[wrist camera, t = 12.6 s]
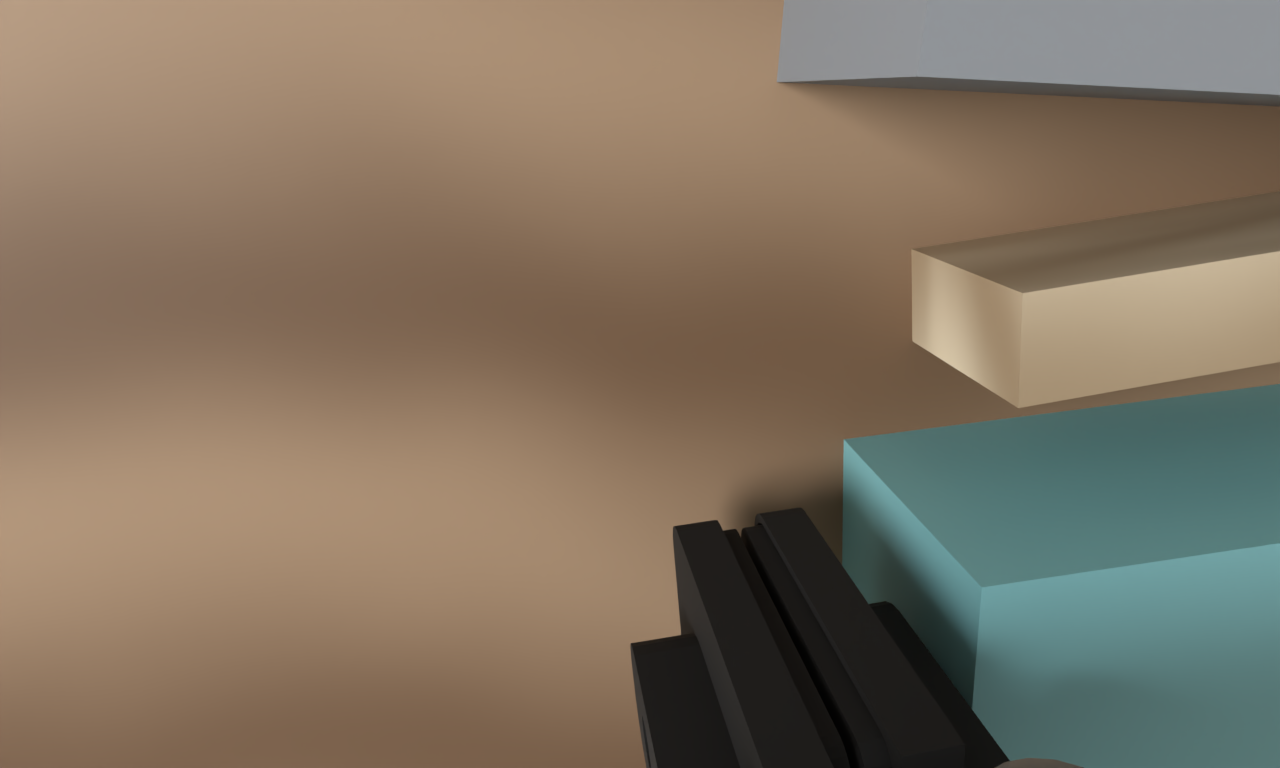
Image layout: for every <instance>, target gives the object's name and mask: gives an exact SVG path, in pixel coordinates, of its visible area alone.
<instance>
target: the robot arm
mask: <svg viewBox="0 0 1280 768" xmlns="http://www.w3.org/2000/svg"><path fill="white" fill-rule="evenodd" d="M673 547H674V558H675V570H676V581H677V593H678V604H679V616H680V627H681V635H678V636H672V637H666V638H660V639H654V640H648V641H642V642H636V643H631V645H630V649H631V661H632V670H633V679H634V688H635V696H636V704H637V712H638V719H639V726H640V732H641V739H642V745H643V751H644V757H645V763H646V768H1084V767H1081V766H1077V765H1073V764H1070V763H1066V762H1062V761H1059V760H1055V759H1040V758H1024V759H1019V760H1013V761H1010V760H1009V759H1008V757H1007V756H1006V755H1005V753H1004V752H1003V751H1002V749H1001V748H1000V747H999V745H998V744H997V742H996V741H995V740H994V738H993V737H992V736H991V734H990V733H989V732H988V730H987V729H986V728H985V726H984V725H983V724H982V722H981V721H980V719H979V718H978V717H977V715H976V714H975V713H974V711H973V710H972V709H971V707H970V706H969V705H968V703H967V702H966V701H965V699H964V698H963V696H962V695H961V694H960V692H959V691H958V690H957V688H956V687H955V686H954V684H953V683H952V682H951V680H950V679H949V677H948V676H947V675H946V673H945V672H944V671H943V669H942V668H941V667H940V665H939V664H938V663H937V661H936V660H935V659H934V657H933V656H932V654H931V653H930V652H929V650H928V649H927V648H926V646H925V645H924V644H923V642H922V641H921V640H920V638H919V637H918V636H917V634H916V633H915V631H914V630H913V629H912V627H911V626H910V625H909V623H908V622H907V621H906V619H905V618H904V617H903V615H902V614H901V613H900V611H899V610H898V609H897V608H896V607H895V606H894V605H893V604H892V603H889V602H887V601H883V602H877V603H871V604H868V602H867V601H866V599H865V598H864V596H863V595H862V594H861V592H860V591H859V589H858V588H857V586H856V585H855V583H854V582H853V580H852V579H851V578H850V576H849V575H848V573H847V572H846V570H845V569H844V567H843V566H842V564H841V563H840V562H839V560H838V559H837V557H836V556H835V554H834V553H833V551H832V550H831V549H830V547H829V546H828V544H827V543H826V541H825V540H824V538H823V537H822V535H821V534H820V533H819V531H818V530H817V528H816V527H815V525H814V524H813V522H812V521H811V520H810V518H809V517H808V515H807V514H806V512H805V511H804V510H803V509H802V508H799V507H798V508H792V509H785V510H779V511H772V512H766V513H759V514H757V515H756V517H755V526H752V527H745V528H743V529H742V531H741V537H740V535H739V533H738V531H737V530H736V529H729V530H722V527H721V525H720V523H719V522H718V520H711V521H705V522H698V523H691V524H685V525H678V526H674V527H673Z"/></svg>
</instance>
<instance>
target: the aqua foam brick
mask: <svg viewBox="0 0 1280 768" xmlns="http://www.w3.org/2000/svg"><path fill="white" fill-rule="evenodd" d="M842 566H843V567H844V569H845V570H846V572H847V573H848V575H849V576H850V578H851V579H852V580H853V582H854V583H855V585H856V586H857V588H858V589H859V591H860V592H861V594H862V595H863V596H864V598H865V599H866V601H867V602H868V604H871V603H877V602H883V601H887V602H889V603H892V604H893V605H894V606H895V607H896V608H897V609H898V610H899V611H900V613H901V614H902V615H903V617H904V618H905V619H906V621H907V622H908V623H909V625H910V626H911V627H912V629H913V630H914V631H915V633H916V634H917V636H918V637H919V638H920V640H921V641H922V642H923V644H924V645H925V646H926V648H927V649H928V650H929V652H930V653H931V654H932V656H933V657H934V659H935V660H936V661H937V663H938V664H939V665H940V667H941V668H942V669H943V671H944V672H945V673H946V675H947V676H948V677H949V679H950V680H951V682H952V683H953V684H954V686H955V687H956V688H957V690H958V691H959V692H960V694H961V695H962V696H963V698H964V699H965V701H966V702H967V703H968V705H969V706H970V707H971V709H972V710H973V711H974V713H975V714H976V715H977V717H978V718H979V719H980V721H981V722H982V724H983V725H984V726H985V728H986V729H987V730H988V732H989V733H990V734H991V736H992V737H993V738H994V740H995V741H996V742H997V744H998V745H999V747H1000V748H1001V749H1002V751H1003V752H1004V753H1005V755H1006V756H1007V757H1008V759H1009V760H1010V761H1013V760H1019V759H1024V758H1040V759H1055V760H1059V761H1062V762H1066V763H1070V764H1073V765H1077V766H1081V767H1084V768H1280V384H1275V385H1267V386H1259V387H1251V388H1243V389H1235V390H1227V391H1220V392H1212V393H1204V394H1196V395H1188V396H1180V397H1172V398H1164V399H1157V400H1149V401H1141V402H1133V403H1125V404H1117V405H1109V406H1101V407H1094V408H1086V409H1078V410H1070V411H1062V412H1054V413H1046V414H1038V415H1030V416H1023V417H1015V418H1007V419H999V420H991V421H983V422H976V423H968V424H960V425H952V426H944V427H936V428H929V429H921V430H913V431H905V432H897V433H890V434H882V435H874V436H866V437H858V438H850V439H844V454H843V538H842Z"/></svg>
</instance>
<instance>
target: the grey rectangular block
mask: <svg viewBox="0 0 1280 768" xmlns="http://www.w3.org/2000/svg"><path fill="white" fill-rule="evenodd" d="M777 82H783V83H803V84H824V85H845V86H865V87H886V88H907V89H928V90H948V91H969V92H990V93H1010V94H1031V95H1052V96H1072V97H1093V98H1114V99H1135V100H1155V101H1176V102H1197V103H1217V104H1238V105H1259V106H1280V0H784V7H783V18H782V29H781V40H780V51H779V62H778V73H777Z"/></svg>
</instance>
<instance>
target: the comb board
mask: <svg viewBox="0 0 1280 768" xmlns="http://www.w3.org/2000/svg"><path fill="white" fill-rule="evenodd" d="M783 7H784V0H0V768H646V763H645V757H644V751H643V745H642V739H641V732H640V726H639V719H638V712H637V704H636V696H635V688H634V679H633V670H632V661H631V649H630V645H631V643H636V642H642V641H648V640H654V639H660V638H666V637H672V636H678V635H681V627H680V616H679V604H678V593H677V581H676V570H675V558H674V547H673V527H674V526H678V525H685V524H691V523H698V522H705V521H711V520H718V522H719V523H720V525H721V527H722V530H729V529H736V530H737V531H738V533H739V535H740V537H741V531H742V529H743V528H745V527H752V526H755V517H756V515H757V514H759V513H766V512H772V511H779V510H785V509H792V508H798V507H799V508H802V509H803V510H804V511H805V512H806V514H807V515H808V517H809V518H810V520H811V521H812V522H813V524H814V525H815V527H816V528H817V530H818V531H819V533H820V534H821V535H822V537H823V538H824V540H825V541H826V543H827V544H828V546H829V547H830V549H831V550H832V551H833V553H834V554H835V556H836V557H837V559H838V560H839V562H840V563H841V564H842V538H843V454H844V439H850V438H858V437H866V436H874V435H882V434H890V433H897V432H905V431H913V430H921V429H929V428H936V427H944V426H952V425H960V424H968V423H976V422H983V421H991V420H999V419H1007V418H1015V417H1023V416H1030V415H1038V414H1046V413H1054V412H1062V411H1070V410H1078V409H1086V408H1094V407H1101V406H1109V405H1117V404H1125V403H1133V402H1141V401H1149V400H1157V399H1164V398H1172V397H1180V396H1188V395H1196V394H1204V393H1212V392H1220V391H1227V390H1235V389H1243V388H1251V387H1259V386H1267V385H1275V384H1280V106H1259V105H1238V104H1217V103H1197V102H1176V101H1155V100H1135V99H1114V98H1093V97H1072V96H1052V95H1031V94H1010V93H990V92H969V91H948V90H928V89H907V88H886V87H865V86H845V85H824V84H803V83H783V82H777V73H778V62H779V51H780V40H781V29H782V18H783Z"/></svg>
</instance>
